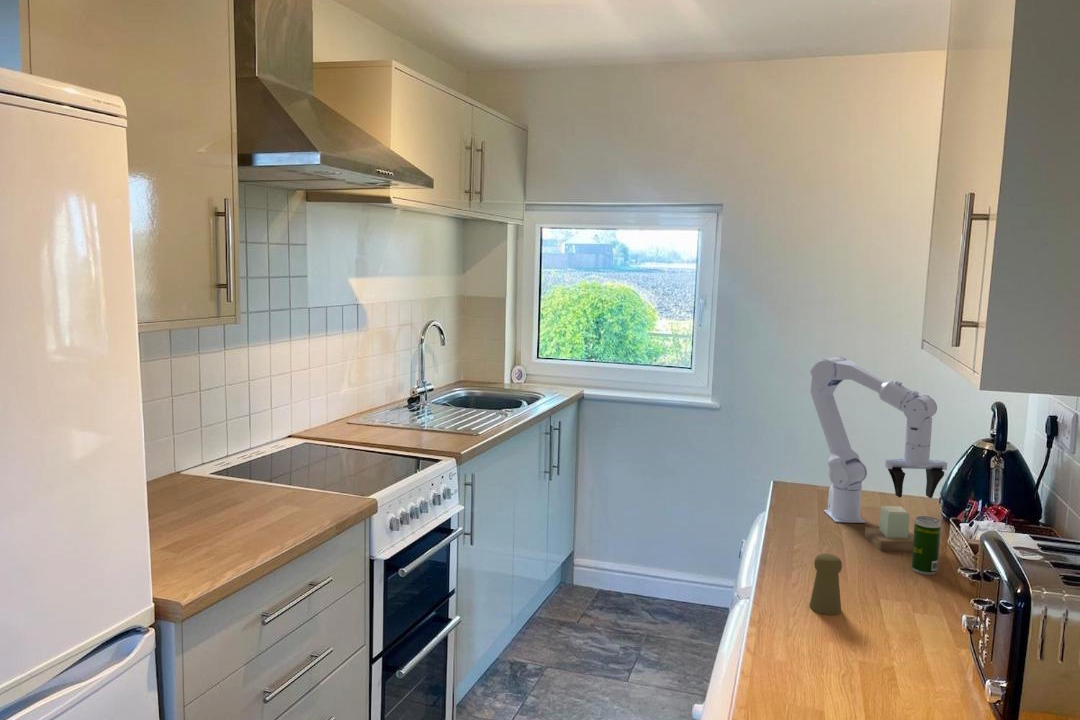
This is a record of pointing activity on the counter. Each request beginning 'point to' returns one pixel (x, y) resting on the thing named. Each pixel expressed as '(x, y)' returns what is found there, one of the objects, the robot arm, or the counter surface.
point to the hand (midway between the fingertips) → (913, 496)
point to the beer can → (926, 545)
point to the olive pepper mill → (826, 585)
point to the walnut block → (888, 540)
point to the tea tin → (894, 522)
